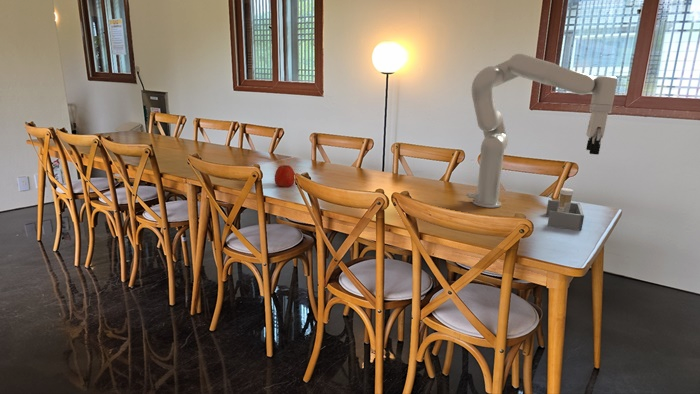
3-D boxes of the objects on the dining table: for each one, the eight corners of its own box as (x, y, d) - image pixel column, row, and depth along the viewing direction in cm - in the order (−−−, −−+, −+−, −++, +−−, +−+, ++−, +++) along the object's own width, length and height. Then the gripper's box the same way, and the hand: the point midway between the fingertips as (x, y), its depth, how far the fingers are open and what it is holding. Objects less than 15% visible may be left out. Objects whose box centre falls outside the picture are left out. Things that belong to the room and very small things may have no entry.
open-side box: (547, 225, 174) (549, 211, 172) (546, 213, 190) (548, 199, 188) (581, 230, 170) (584, 215, 168) (577, 217, 186) (579, 203, 184)
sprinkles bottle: (553, 219, 182) (558, 187, 178) (563, 219, 183) (569, 187, 179) (559, 223, 178) (564, 190, 174) (570, 223, 178) (575, 190, 174)
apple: (292, 182, 228) (292, 162, 225) (297, 187, 219) (297, 166, 216) (272, 183, 224) (272, 163, 221) (277, 188, 215) (276, 167, 212)
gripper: (587, 106, 181) (579, 148, 186) (593, 109, 166) (584, 154, 171) (607, 107, 179) (599, 149, 184) (615, 111, 163) (606, 156, 168)
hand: (592, 152), depth 177 cm, fingers open, 9 cm apart
